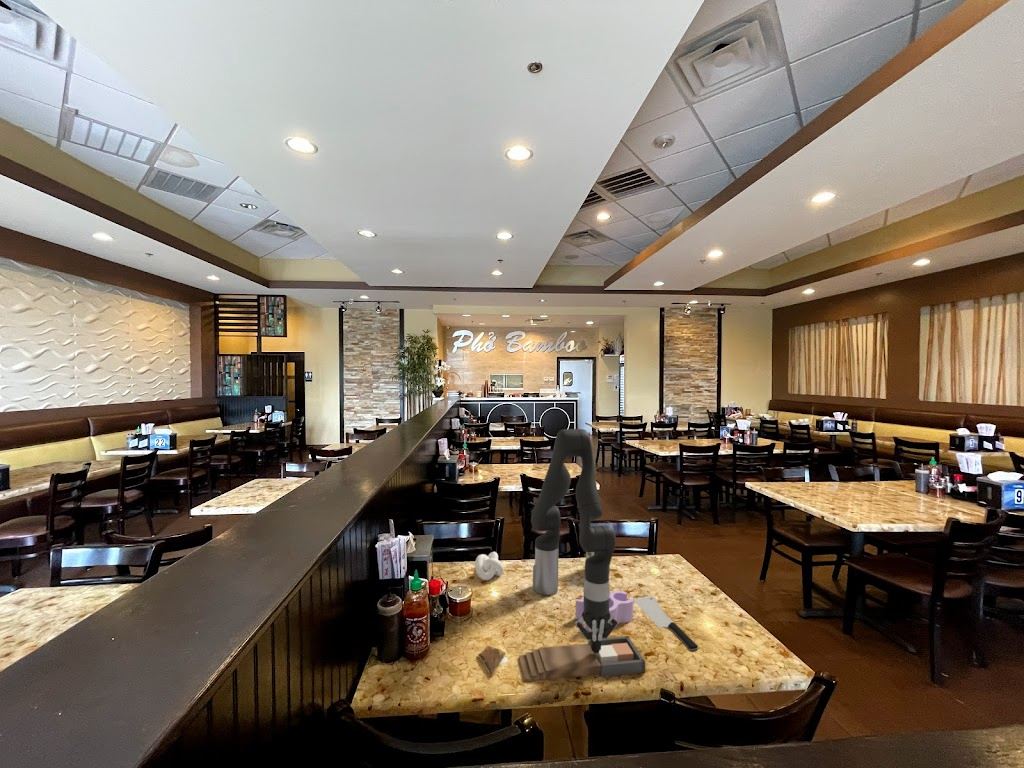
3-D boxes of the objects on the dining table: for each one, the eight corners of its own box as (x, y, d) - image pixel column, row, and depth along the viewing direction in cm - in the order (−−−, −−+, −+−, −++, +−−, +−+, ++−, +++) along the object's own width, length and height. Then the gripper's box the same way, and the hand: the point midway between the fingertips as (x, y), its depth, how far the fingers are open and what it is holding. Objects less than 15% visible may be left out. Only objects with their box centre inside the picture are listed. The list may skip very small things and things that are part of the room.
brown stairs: (524, 681, 119) (524, 674, 119) (519, 657, 129) (519, 650, 129) (545, 679, 120) (546, 672, 120) (538, 655, 130) (538, 649, 130)
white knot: (474, 569, 186) (474, 549, 186) (502, 568, 187) (502, 548, 187) (475, 582, 175) (475, 560, 175) (504, 581, 176) (504, 559, 176)
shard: (491, 680, 120) (491, 673, 120) (467, 672, 123) (467, 666, 123) (506, 656, 130) (506, 650, 130) (484, 650, 133) (484, 644, 133)
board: (545, 679, 120) (546, 670, 120) (538, 656, 130) (538, 647, 130) (600, 674, 122) (600, 665, 122) (589, 651, 132) (589, 643, 132)
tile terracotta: (617, 664, 126) (617, 654, 126) (610, 653, 131) (611, 644, 130) (633, 663, 126) (633, 653, 126) (626, 652, 131) (626, 642, 131)
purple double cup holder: (619, 605, 159) (619, 586, 159) (640, 623, 147) (641, 604, 147) (571, 615, 152) (571, 596, 152) (589, 635, 140) (590, 615, 140)
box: (601, 676, 121) (601, 665, 121) (588, 649, 133) (588, 639, 133) (645, 672, 123) (645, 661, 123) (627, 646, 135) (628, 636, 135)
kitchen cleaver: (628, 598, 163) (652, 593, 164) (628, 602, 163) (652, 597, 164) (673, 651, 132) (702, 644, 134) (674, 657, 132) (703, 649, 134)
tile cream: (601, 667, 125) (601, 657, 125) (595, 655, 130) (595, 646, 129) (617, 665, 125) (617, 655, 125) (611, 654, 130) (611, 644, 130)
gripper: (578, 601, 122) (577, 661, 122) (622, 598, 124) (621, 657, 124) (571, 588, 129) (570, 645, 130) (613, 586, 131) (612, 641, 132)
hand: (595, 651), depth 127 cm, fingers closed
